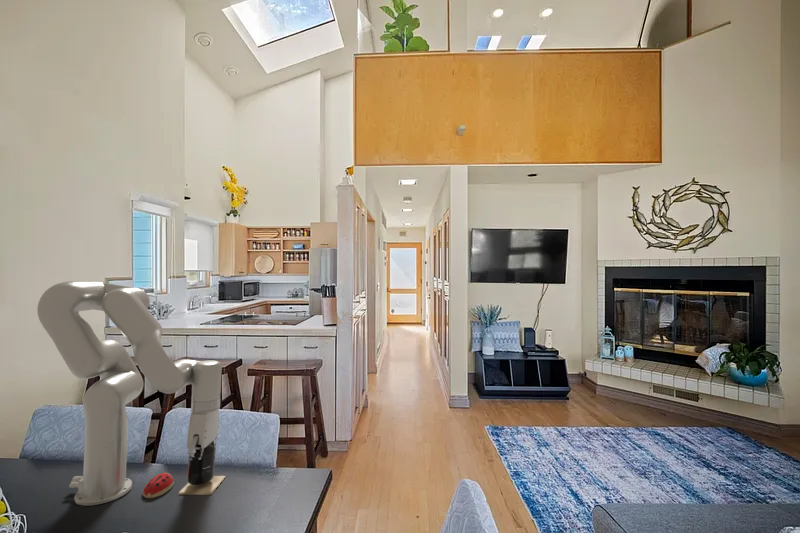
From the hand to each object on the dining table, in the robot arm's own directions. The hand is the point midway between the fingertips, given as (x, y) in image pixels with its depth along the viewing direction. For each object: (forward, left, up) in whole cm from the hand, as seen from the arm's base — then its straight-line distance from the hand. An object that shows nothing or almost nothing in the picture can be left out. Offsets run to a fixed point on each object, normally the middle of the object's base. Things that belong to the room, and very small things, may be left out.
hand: (203, 466), depth 111 cm
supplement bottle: (0, 0, -4) cm, 4 cm away
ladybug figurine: (-11, -2, -6) cm, 13 cm away
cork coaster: (0, 0, -6) cm, 6 cm away
